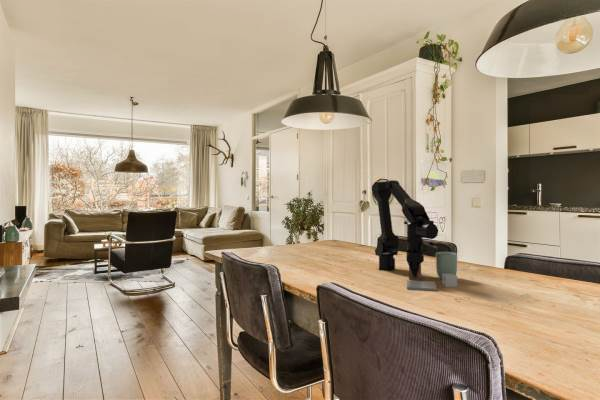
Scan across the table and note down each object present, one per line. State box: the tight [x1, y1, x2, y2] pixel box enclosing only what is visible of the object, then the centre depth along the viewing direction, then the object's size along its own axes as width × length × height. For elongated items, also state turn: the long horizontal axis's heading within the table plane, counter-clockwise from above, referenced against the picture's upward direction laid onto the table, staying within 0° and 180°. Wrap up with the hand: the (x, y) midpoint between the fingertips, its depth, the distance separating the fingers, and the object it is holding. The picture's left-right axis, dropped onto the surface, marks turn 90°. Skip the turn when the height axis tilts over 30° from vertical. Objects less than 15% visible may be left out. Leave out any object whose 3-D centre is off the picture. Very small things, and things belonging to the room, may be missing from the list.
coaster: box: [406, 279, 438, 292], centre depth 133 cm, size 10×10×1 cm
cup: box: [435, 251, 458, 279], centre depth 144 cm, size 8×8×10 cm
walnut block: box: [408, 263, 422, 281], centre depth 145 cm, size 4×4×6 cm
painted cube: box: [441, 274, 458, 288], centre depth 133 cm, size 4×4×4 cm
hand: (414, 275), depth 145 cm, fingers open, 6 cm apart
